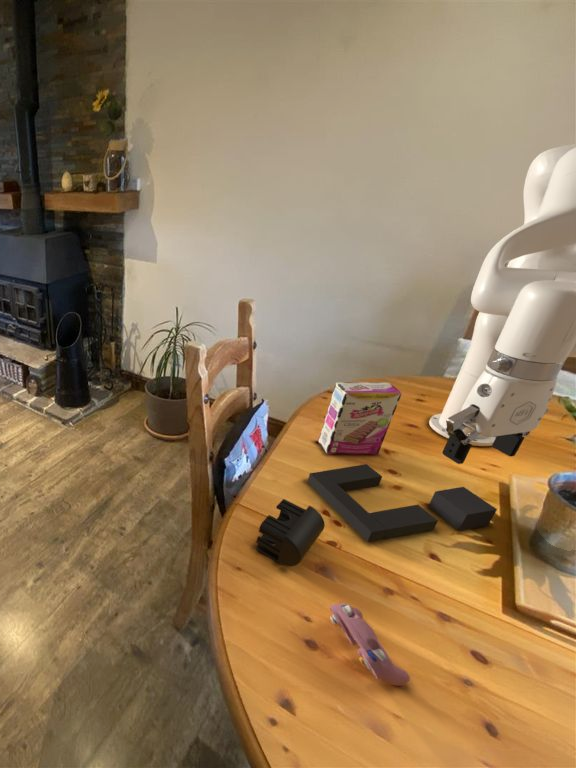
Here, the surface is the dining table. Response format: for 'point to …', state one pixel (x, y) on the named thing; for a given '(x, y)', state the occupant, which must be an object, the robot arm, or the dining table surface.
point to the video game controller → (367, 644)
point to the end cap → (289, 533)
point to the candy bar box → (358, 417)
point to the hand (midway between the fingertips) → (477, 455)
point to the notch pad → (364, 523)
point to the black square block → (462, 508)
